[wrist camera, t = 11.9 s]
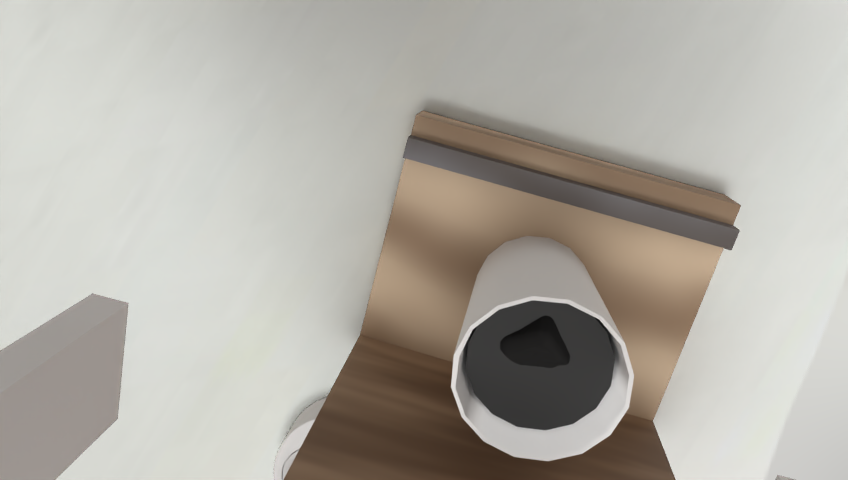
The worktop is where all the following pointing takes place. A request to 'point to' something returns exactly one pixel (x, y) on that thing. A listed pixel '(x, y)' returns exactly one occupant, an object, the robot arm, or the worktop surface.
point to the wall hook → (295, 439)
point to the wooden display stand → (452, 288)
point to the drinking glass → (539, 354)
